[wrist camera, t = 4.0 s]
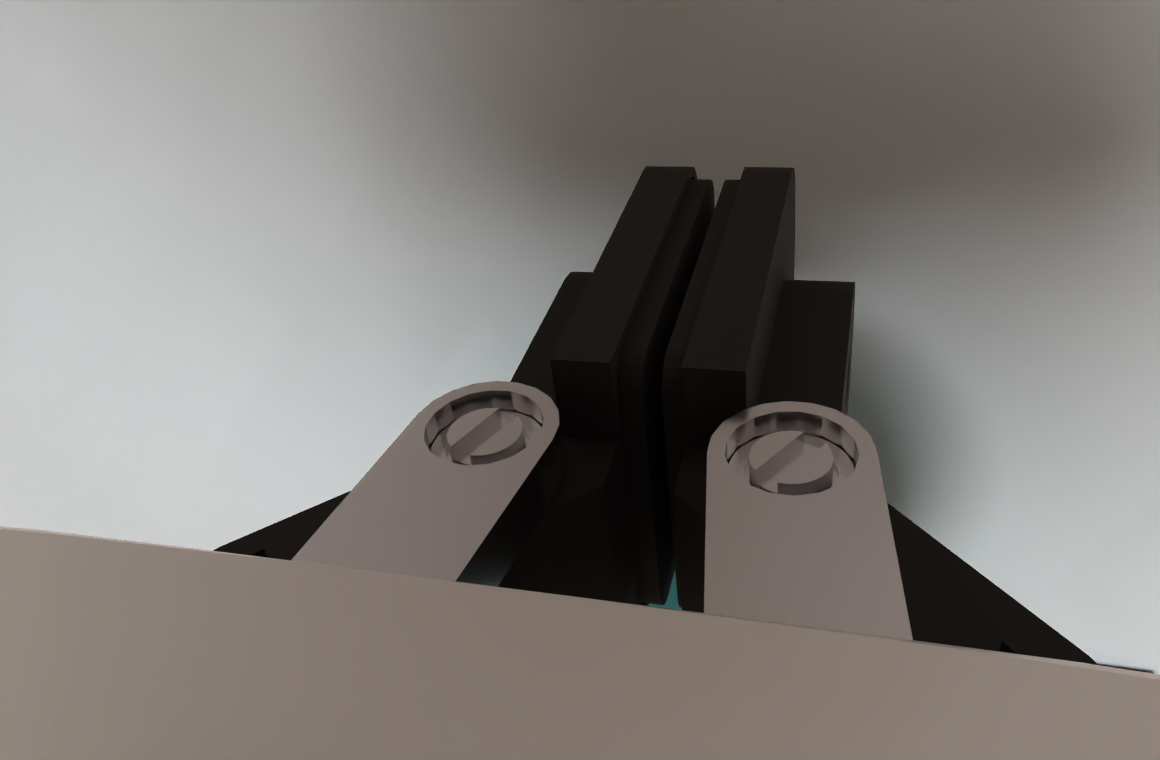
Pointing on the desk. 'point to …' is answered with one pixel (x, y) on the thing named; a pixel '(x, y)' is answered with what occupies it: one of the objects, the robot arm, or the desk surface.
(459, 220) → the desk surface
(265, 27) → the desk surface
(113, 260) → the desk surface
